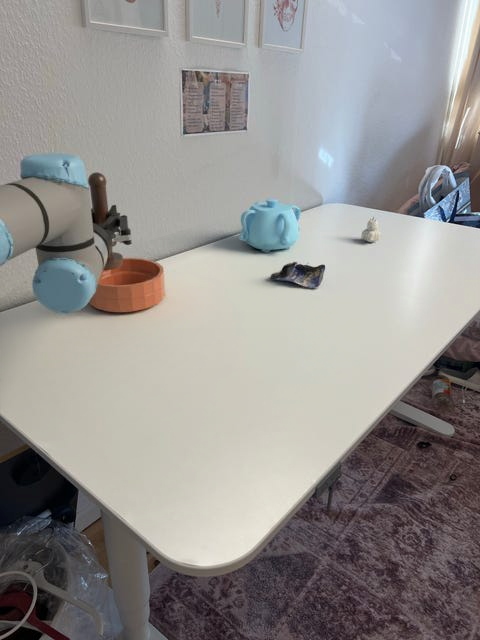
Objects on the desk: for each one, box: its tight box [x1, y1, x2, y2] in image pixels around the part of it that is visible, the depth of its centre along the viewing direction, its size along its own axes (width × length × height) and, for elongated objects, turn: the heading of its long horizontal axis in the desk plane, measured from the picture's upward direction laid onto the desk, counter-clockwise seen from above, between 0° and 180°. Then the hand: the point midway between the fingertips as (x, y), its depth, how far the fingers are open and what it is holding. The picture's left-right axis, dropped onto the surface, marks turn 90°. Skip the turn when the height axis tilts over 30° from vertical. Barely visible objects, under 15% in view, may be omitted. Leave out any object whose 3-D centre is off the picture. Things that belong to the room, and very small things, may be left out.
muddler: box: [87, 171, 124, 270], centre depth 90 cm, size 6×6×18 cm
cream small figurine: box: [361, 215, 381, 243], centre depth 143 cm, size 5×7×8 cm
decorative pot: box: [238, 198, 301, 253], centre depth 137 cm, size 16×16×14 cm
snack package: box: [270, 261, 326, 290], centre depth 116 cm, size 12×6×12 cm
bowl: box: [88, 257, 166, 313], centre depth 104 cm, size 17×17×6 cm
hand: (105, 211), depth 95 cm, fingers closed on muddler, 3 cm apart
